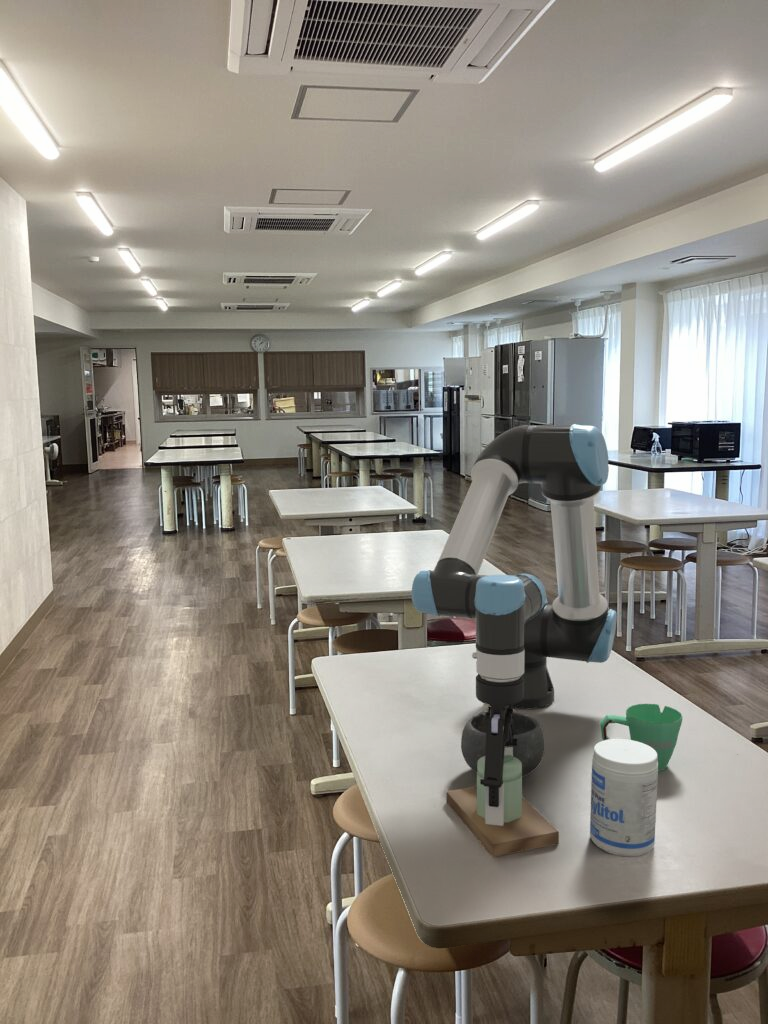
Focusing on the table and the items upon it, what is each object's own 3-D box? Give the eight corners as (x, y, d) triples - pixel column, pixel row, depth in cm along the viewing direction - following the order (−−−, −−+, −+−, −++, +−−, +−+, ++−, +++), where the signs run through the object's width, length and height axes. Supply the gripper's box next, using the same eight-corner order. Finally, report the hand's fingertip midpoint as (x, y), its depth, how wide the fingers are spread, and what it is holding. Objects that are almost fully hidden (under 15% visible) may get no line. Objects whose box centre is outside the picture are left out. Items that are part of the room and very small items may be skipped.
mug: (671, 753, 158) (672, 703, 156) (688, 776, 148) (690, 723, 147) (593, 754, 158) (594, 703, 157) (605, 777, 148) (606, 723, 147)
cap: (500, 796, 137) (500, 747, 136) (530, 813, 132) (531, 761, 131) (468, 808, 133) (468, 758, 132) (498, 826, 128) (498, 773, 127)
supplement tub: (578, 844, 126) (580, 752, 124) (606, 820, 133) (608, 732, 131) (640, 866, 120) (642, 769, 118) (665, 839, 127) (668, 748, 125)
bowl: (446, 767, 154) (446, 715, 153) (515, 752, 160) (515, 702, 158) (487, 801, 140) (487, 744, 139) (560, 784, 146) (561, 729, 145)
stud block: (505, 792, 143) (505, 751, 142) (558, 843, 126) (559, 797, 125) (446, 802, 140) (446, 760, 139) (492, 856, 123) (492, 809, 122)
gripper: (486, 650, 143) (486, 767, 146) (463, 700, 119) (464, 839, 122) (530, 653, 141) (529, 771, 144) (516, 704, 117) (515, 845, 120)
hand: (499, 803), depth 133 cm, fingers open, 13 cm apart
